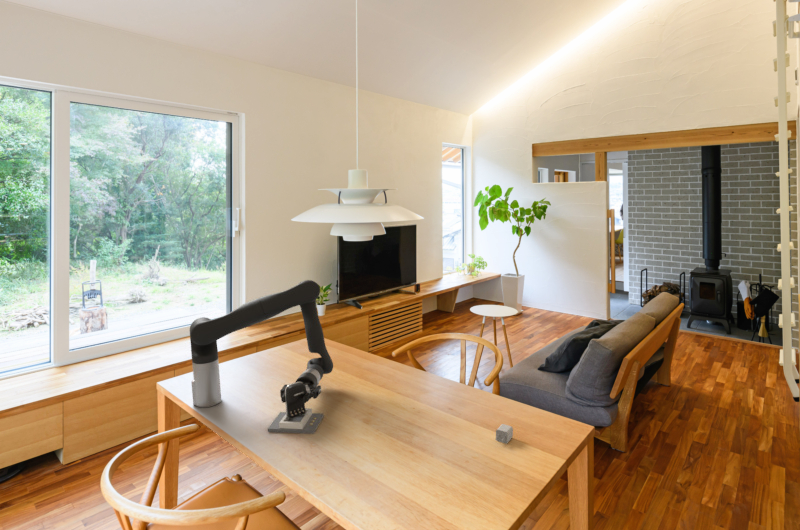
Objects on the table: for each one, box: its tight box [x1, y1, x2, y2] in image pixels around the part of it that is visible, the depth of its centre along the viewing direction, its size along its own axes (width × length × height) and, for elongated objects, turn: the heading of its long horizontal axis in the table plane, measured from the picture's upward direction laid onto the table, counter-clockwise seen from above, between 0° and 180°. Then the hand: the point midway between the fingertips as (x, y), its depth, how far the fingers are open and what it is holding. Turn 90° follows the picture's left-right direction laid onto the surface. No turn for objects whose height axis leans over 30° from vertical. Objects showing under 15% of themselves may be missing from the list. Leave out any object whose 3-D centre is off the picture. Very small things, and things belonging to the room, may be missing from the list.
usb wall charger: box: [495, 423, 514, 444], centre depth 144 cm, size 4×7×4 cm, turn 145°
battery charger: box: [285, 381, 306, 418], centre depth 156 cm, size 7×4×11 cm, turn 131°
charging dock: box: [267, 407, 324, 435], centre depth 157 cm, size 16×12×3 cm
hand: (293, 400), depth 154 cm, fingers closed on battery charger, 6 cm apart
